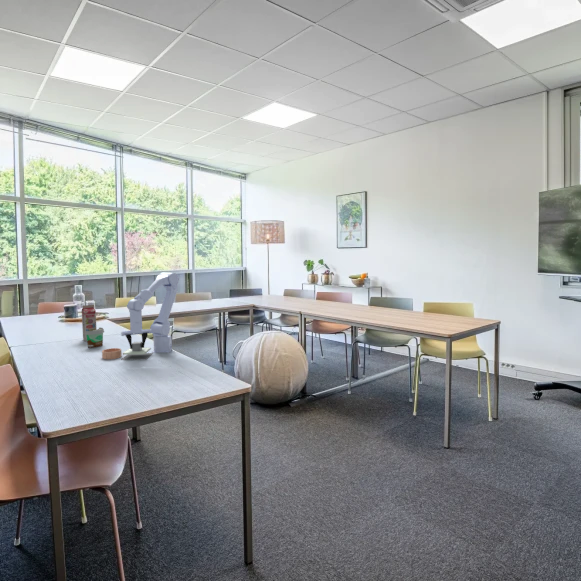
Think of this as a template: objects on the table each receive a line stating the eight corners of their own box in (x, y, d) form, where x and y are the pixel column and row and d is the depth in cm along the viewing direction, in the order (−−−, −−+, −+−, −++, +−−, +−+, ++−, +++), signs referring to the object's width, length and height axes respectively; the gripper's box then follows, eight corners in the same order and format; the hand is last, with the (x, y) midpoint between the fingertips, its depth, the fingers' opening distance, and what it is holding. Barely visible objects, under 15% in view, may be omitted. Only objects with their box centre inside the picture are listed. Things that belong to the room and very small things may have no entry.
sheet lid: (150, 348, 222) (150, 340, 221) (145, 354, 211) (144, 344, 210) (130, 349, 221) (129, 340, 220) (123, 354, 210) (122, 345, 209)
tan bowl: (123, 355, 220) (123, 348, 220) (117, 359, 211) (117, 352, 211) (106, 355, 219) (106, 348, 219) (99, 360, 210) (99, 352, 210)
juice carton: (83, 339, 260) (81, 305, 258) (94, 338, 264) (92, 304, 262) (85, 341, 254) (83, 306, 252) (97, 340, 258) (95, 305, 256)
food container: (95, 348, 235) (95, 331, 234) (86, 348, 236) (85, 331, 236) (109, 344, 247) (108, 327, 246) (100, 343, 249) (99, 327, 248)
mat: (153, 354, 223) (153, 353, 223) (146, 360, 210) (146, 359, 210) (128, 354, 222) (128, 353, 222) (120, 360, 209) (120, 359, 209)
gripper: (149, 320, 221) (150, 345, 222) (120, 322, 215) (121, 347, 216) (151, 322, 215) (152, 347, 216) (121, 324, 208) (122, 350, 210)
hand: (137, 348), depth 216 cm, fingers closed on sheet lid, 5 cm apart
